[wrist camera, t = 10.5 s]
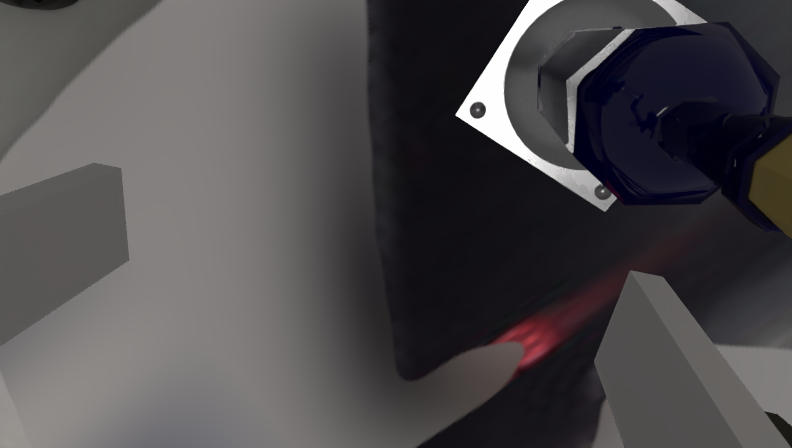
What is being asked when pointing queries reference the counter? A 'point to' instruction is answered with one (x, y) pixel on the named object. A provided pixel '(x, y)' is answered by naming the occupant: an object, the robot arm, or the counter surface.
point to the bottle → (673, 117)
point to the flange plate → (518, 77)
